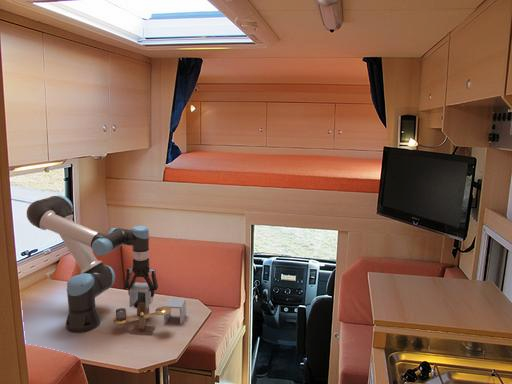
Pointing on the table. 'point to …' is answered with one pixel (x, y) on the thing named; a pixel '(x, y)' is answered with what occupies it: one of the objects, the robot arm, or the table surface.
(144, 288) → the cover
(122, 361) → the table surface
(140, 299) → the rock
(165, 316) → the cover
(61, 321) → the table surface
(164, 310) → the balance
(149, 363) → the table surface
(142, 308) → the block
